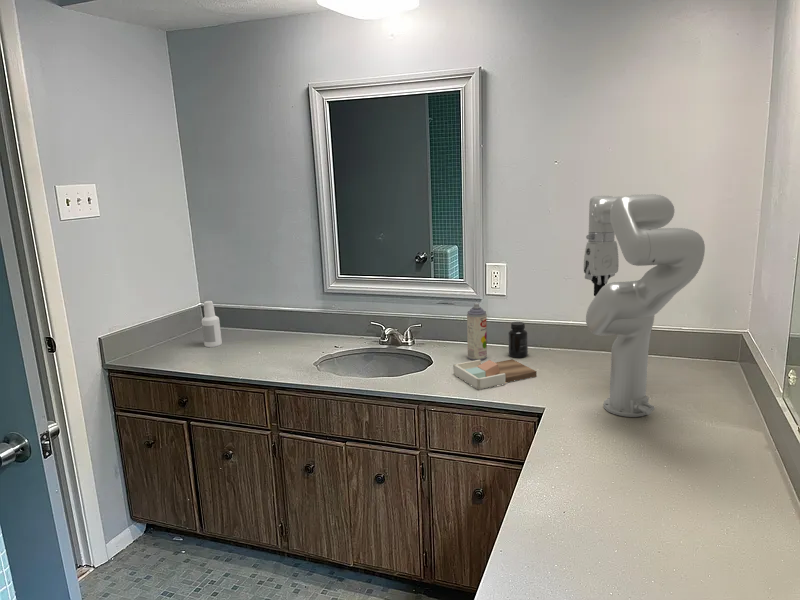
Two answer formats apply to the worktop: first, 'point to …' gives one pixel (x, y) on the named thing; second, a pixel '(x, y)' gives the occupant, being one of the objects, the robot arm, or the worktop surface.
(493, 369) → the clay tile
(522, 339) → the supplement bottle
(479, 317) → the aerosol can
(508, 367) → the walnut board
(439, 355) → the worktop surface
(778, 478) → the worktop surface
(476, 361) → the box
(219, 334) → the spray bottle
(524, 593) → the worktop surface
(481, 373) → the teal tile
